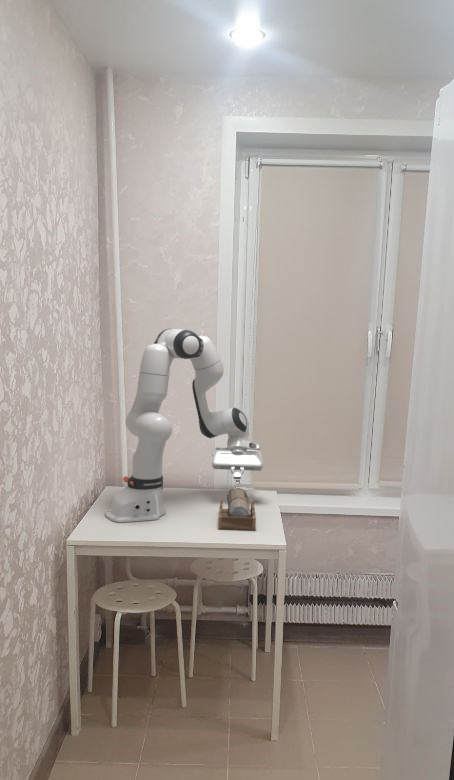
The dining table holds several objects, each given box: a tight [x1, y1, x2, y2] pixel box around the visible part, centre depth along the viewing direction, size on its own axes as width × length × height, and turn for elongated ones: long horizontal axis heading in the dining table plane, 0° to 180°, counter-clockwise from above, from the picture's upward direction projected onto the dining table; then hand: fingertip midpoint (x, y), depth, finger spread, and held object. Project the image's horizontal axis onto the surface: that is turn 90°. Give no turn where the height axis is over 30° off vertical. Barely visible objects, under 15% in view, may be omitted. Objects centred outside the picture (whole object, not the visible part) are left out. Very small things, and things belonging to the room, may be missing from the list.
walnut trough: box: [217, 498, 257, 532], centre depth 223 cm, size 22×13×4 cm, turn 179°
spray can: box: [226, 487, 251, 517], centre depth 225 cm, size 8×8×20 cm
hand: (237, 478), depth 236 cm, fingers closed
